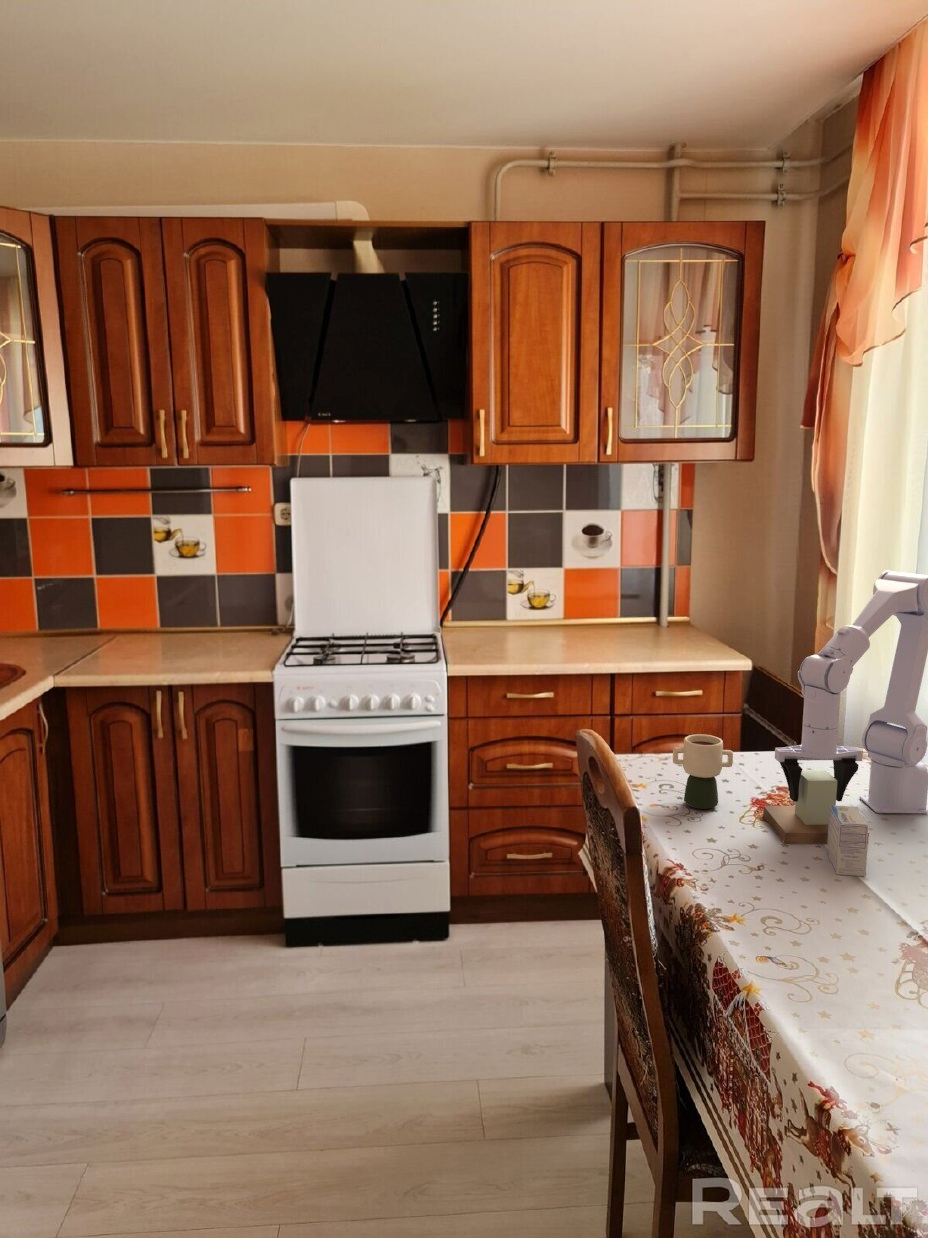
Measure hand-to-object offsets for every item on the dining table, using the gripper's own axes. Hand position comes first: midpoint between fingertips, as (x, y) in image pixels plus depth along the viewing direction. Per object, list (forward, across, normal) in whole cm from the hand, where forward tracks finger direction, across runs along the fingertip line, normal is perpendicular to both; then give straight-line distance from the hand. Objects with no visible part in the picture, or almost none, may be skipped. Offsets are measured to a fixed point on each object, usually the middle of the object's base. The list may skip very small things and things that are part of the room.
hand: (815, 799), depth 155 cm
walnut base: (+6, 0, 0) cm, 6 cm away
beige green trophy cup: (+6, +17, -11) cm, 21 cm away
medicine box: (+6, 0, +14) cm, 15 cm away
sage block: (+4, 0, 0) cm, 4 cm away
